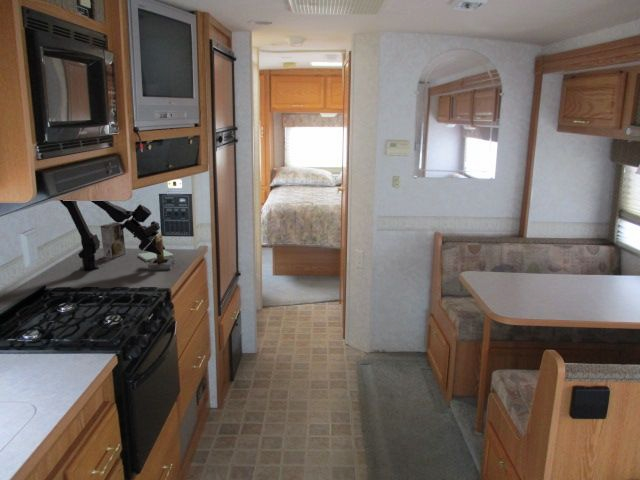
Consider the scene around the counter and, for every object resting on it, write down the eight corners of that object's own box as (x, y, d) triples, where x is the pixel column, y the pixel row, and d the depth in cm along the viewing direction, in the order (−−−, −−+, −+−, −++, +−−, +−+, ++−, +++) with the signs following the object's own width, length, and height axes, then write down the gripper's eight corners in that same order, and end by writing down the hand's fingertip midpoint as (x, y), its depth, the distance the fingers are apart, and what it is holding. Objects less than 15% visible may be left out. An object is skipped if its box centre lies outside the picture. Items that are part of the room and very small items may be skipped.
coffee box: (116, 252, 279) (113, 222, 275) (126, 253, 276) (123, 223, 272) (103, 256, 271) (99, 225, 267) (112, 258, 268) (109, 226, 264)
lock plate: (148, 270, 249) (147, 265, 248) (153, 262, 260) (153, 257, 260) (170, 269, 250) (170, 264, 249) (174, 262, 261) (174, 257, 261)
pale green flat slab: (146, 261, 262) (146, 259, 262) (137, 256, 271) (137, 254, 271) (173, 256, 271) (173, 254, 270) (164, 251, 280) (164, 249, 279)
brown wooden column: (153, 268, 251) (151, 238, 247) (157, 264, 259) (154, 234, 255) (165, 268, 251) (162, 238, 248) (168, 263, 259) (165, 233, 255)
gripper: (143, 221, 240) (170, 244, 243) (152, 213, 258) (177, 235, 261) (127, 239, 241) (154, 261, 245) (137, 229, 259) (162, 251, 263)
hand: (162, 251), depth 253 cm, fingers open, 9 cm apart
